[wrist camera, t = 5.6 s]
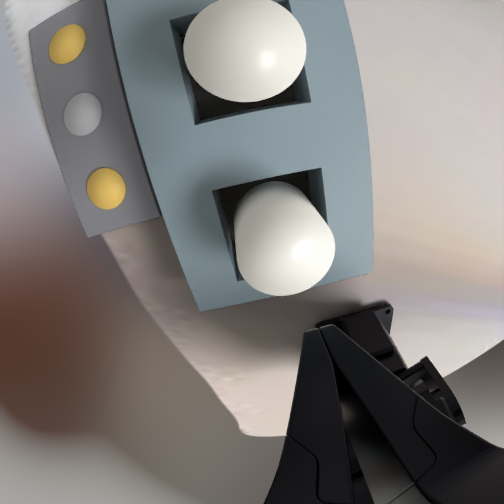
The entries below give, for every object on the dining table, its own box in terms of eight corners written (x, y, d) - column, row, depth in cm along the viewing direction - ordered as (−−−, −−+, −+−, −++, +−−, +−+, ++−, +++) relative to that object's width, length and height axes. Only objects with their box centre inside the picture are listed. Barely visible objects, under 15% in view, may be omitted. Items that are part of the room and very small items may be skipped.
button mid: (292, 93, 12) (316, 92, 9) (205, 110, 12) (198, 114, 9) (275, 14, 10) (292, -11, 7) (186, 31, 10) (173, 9, 7)
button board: (353, 246, 18) (372, 272, 16) (202, 281, 19) (199, 312, 16) (282, -101, 6) (292, -124, 4) (113, -68, 7) (96, -88, 4)
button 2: (315, 244, 16) (337, 283, 13) (243, 261, 16) (248, 304, 13) (306, 174, 14) (331, 199, 11) (225, 191, 14) (225, 221, 11)
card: (161, 214, 16) (159, 217, 16) (90, 234, 16) (86, 239, 16) (103, -8, 9) (100, -11, 9) (32, 31, 9) (27, 31, 9)
